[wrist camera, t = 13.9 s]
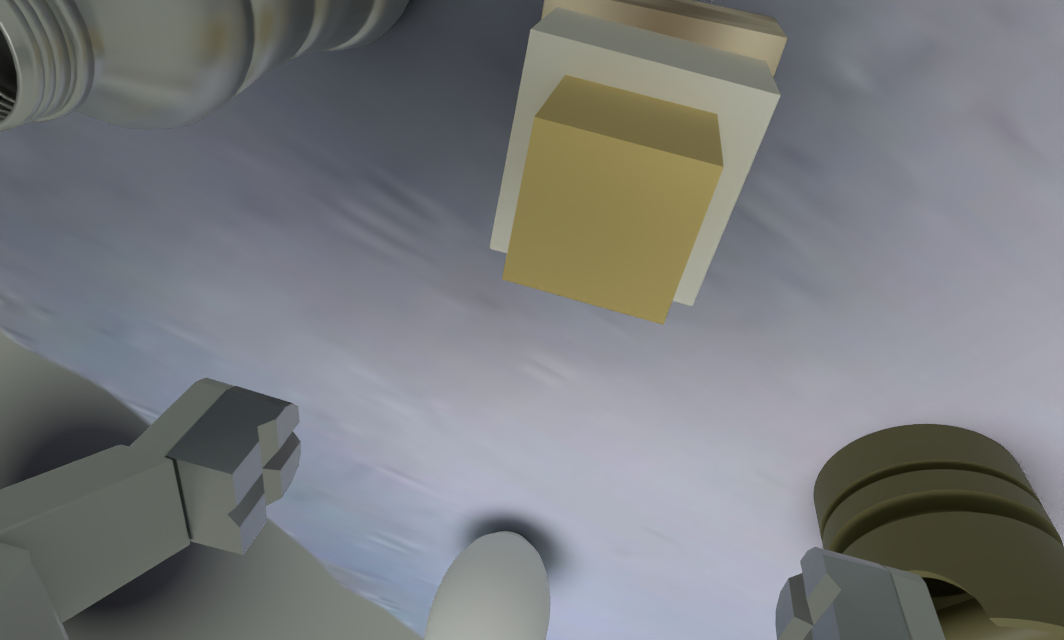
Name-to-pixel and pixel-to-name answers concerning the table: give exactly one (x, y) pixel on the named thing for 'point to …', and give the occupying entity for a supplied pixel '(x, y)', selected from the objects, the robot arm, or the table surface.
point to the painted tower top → (651, 70)
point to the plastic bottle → (162, 53)
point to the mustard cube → (613, 197)
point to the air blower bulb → (492, 593)
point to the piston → (949, 527)
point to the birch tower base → (691, 24)
